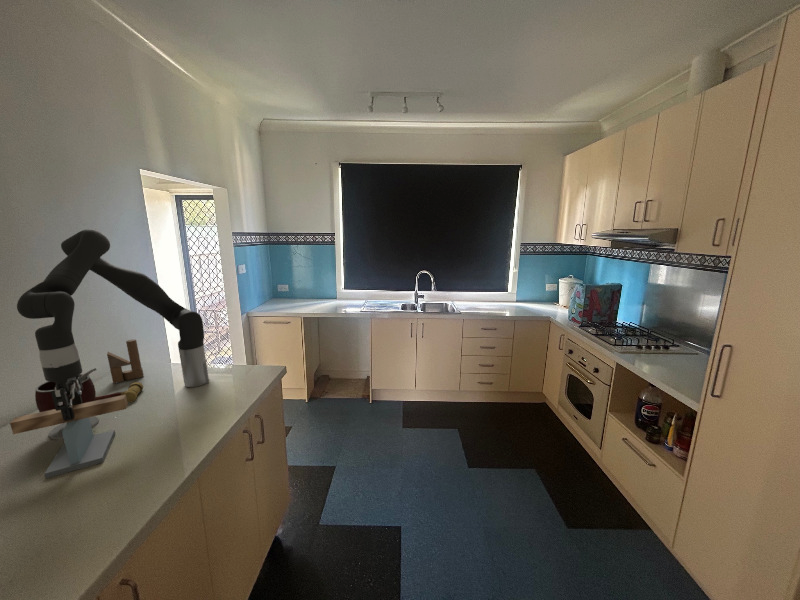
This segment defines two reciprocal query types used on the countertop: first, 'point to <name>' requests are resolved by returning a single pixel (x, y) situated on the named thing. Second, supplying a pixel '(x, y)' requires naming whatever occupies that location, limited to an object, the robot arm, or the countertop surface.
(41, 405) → the mate gourd
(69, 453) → the stand
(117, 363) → the wooden block
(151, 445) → the countertop surface
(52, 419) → the light wood bar
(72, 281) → the robot arm
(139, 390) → the gavel
